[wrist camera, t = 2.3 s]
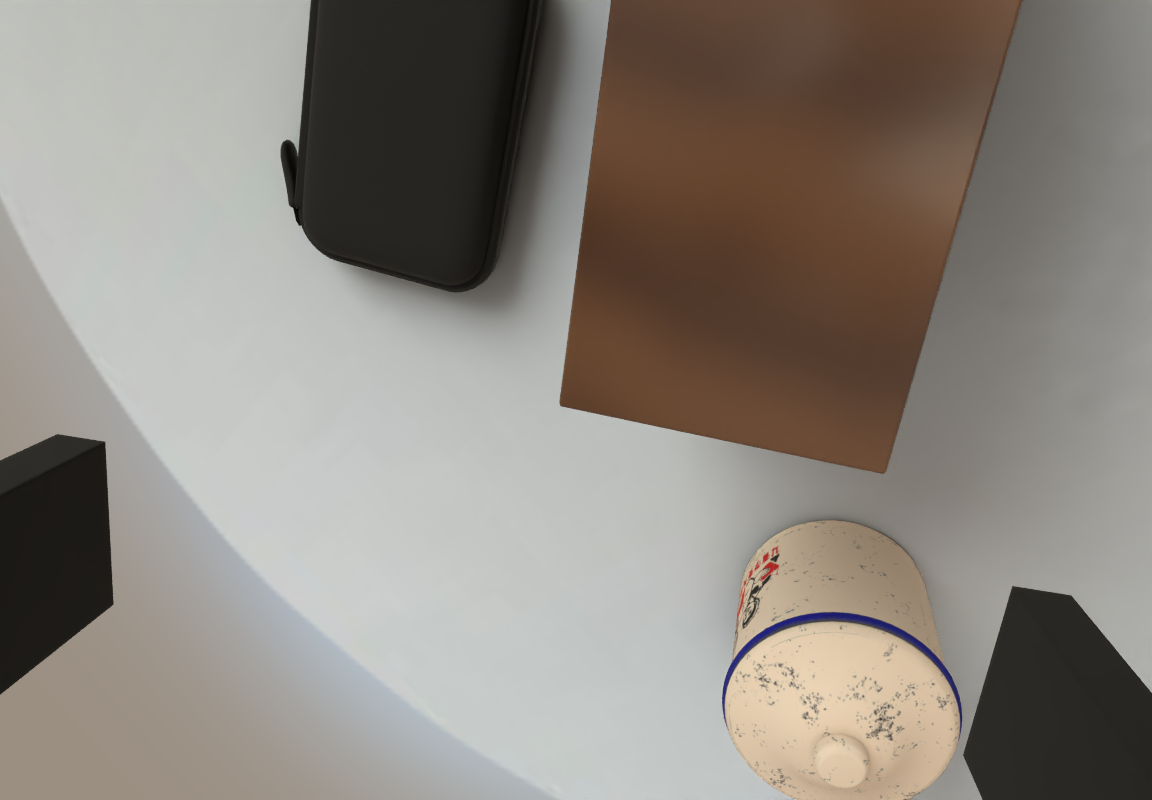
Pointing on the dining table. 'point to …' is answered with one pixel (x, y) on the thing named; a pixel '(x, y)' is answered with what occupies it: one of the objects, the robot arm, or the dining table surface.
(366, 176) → the carrying case
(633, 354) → the shelf
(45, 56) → the dining table surface
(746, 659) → the teacup with lid
